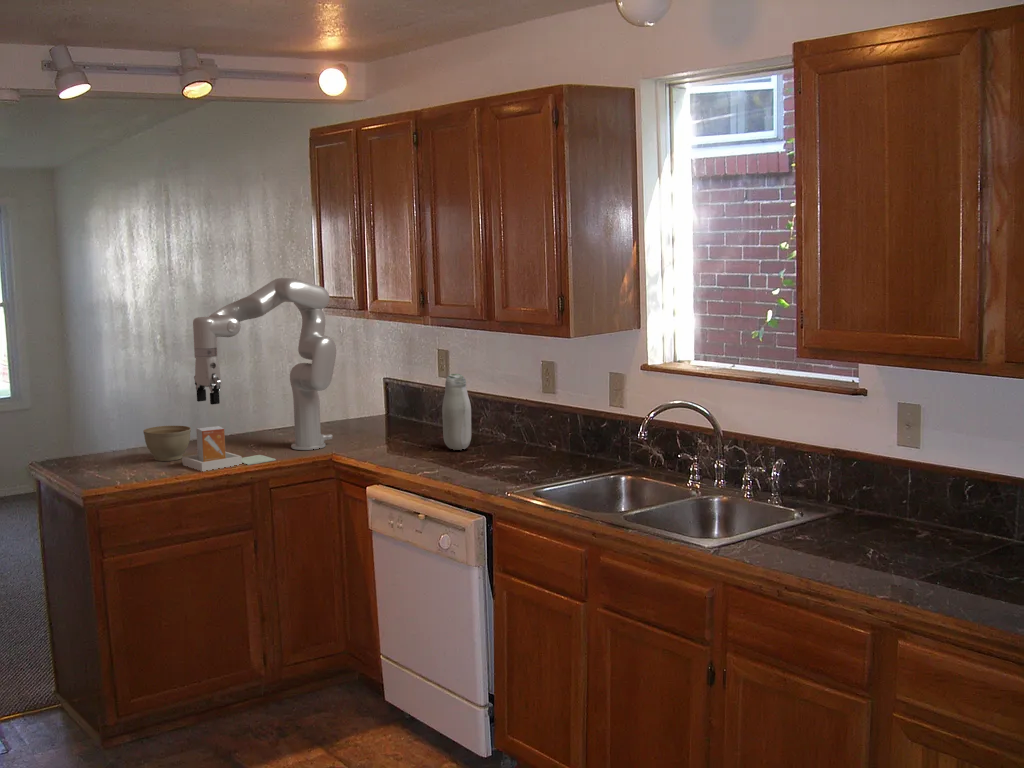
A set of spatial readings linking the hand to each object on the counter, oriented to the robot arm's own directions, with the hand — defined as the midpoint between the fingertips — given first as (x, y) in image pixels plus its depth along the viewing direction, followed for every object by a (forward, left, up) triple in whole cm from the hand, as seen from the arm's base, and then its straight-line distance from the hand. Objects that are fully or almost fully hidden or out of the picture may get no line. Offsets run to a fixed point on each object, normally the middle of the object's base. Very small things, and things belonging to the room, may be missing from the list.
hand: (208, 402), depth 371 cm
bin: (0, 0, -22) cm, 22 cm away
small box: (0, 0, -22) cm, 22 cm away
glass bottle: (-75, +43, -22) cm, 89 cm away
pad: (-14, +4, -22) cm, 26 cm away
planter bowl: (+6, -21, -22) cm, 31 cm away
